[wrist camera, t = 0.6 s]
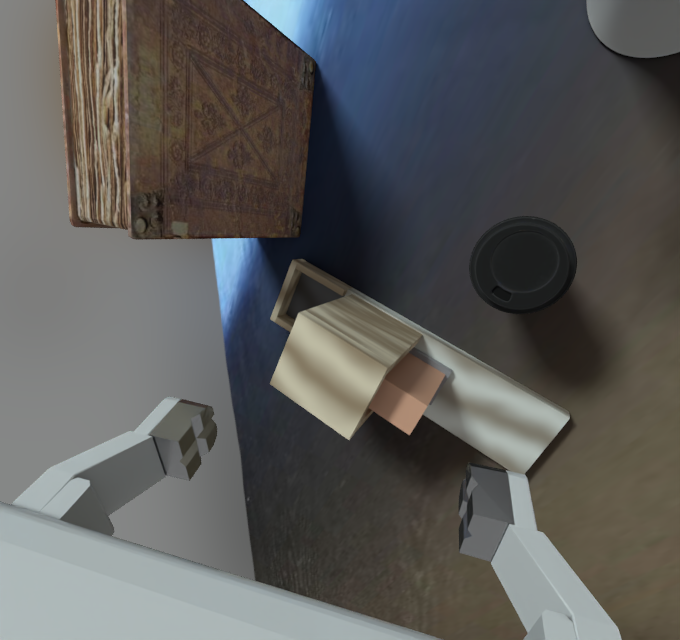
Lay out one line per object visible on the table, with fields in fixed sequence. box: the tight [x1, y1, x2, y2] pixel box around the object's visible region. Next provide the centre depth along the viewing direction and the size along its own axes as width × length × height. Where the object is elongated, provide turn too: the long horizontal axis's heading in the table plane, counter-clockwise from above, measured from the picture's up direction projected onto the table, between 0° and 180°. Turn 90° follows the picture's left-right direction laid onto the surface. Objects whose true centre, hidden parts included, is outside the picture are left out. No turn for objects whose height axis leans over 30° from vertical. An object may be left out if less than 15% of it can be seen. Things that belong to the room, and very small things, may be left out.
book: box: [55, 0, 316, 239], centre depth 47 cm, size 25×9×30 cm, turn 172°
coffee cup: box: [469, 216, 577, 314], centre depth 42 cm, size 9×9×15 cm
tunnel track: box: [270, 259, 570, 474], centre depth 50 cm, size 11×44×18 cm, turn 65°
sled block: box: [369, 347, 453, 435], centre depth 51 cm, size 6×12×12 cm, turn 65°
